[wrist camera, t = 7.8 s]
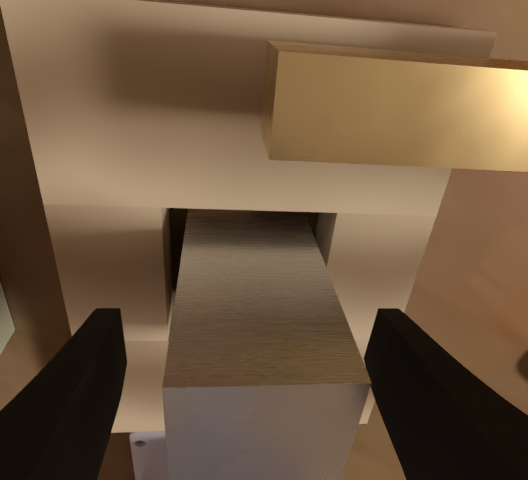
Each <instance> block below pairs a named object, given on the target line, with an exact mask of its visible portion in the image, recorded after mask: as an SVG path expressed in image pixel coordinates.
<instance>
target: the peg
mask: <svg viewBox="0 0 528 480" xmlns="http://www.w3.org/2000/svg"><path fill="white" fill-rule="evenodd" d="M371 384H372V383H371V380H370V378H369V375H368V373H367V370H366V367H365V365H364V362H363V360H362V357H361V355H360V352H359V350H358V347H357V345H356V342H355V339H354V337H353V334H352V332H351V329H350V327H349V324H348V322H347V319H346V316H345V314H344V311H343V309H342V306H341V304H340V301H339V299H338V296H337V294H336V291H335V288H334V286H333V283H332V281H331V278H330V276H329V273H328V271H327V268H326V265H325V263H324V260H323V258H322V255H321V253H320V250H319V248H318V245H317V243H316V240H315V237H314V235H313V232H312V230H311V227H310V225H309V222H308V220H307V217H306V214H305V212H291V211H258V210H224V209H191V208H188V213H187V220H186V227H185V233H184V240H183V247H182V254H181V261H180V268H179V275H178V282H177V289H176V296H175V302H174V309H173V316H172V323H171V330H170V337H169V344H168V351H167V358H166V364H165V371H164V378H163V385H162V394H163V408H164V423H165V438H166V452H167V467H168V480H341V478H342V475H343V472H344V469H345V466H346V463H347V460H348V456H349V453H350V450H351V447H352V444H353V441H354V437H355V434H356V431H357V428H358V425H359V422H360V419H361V415H362V412H363V409H364V406H365V403H366V400H367V396H368V393H369V390H370V387H371Z"/></svg>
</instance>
